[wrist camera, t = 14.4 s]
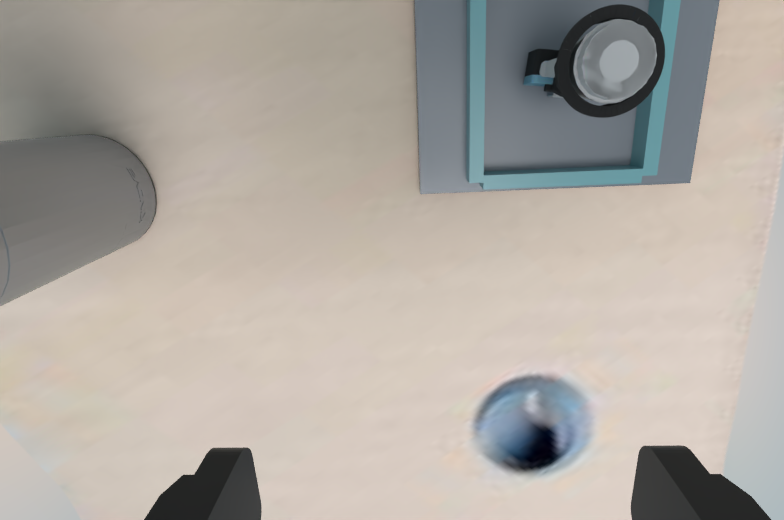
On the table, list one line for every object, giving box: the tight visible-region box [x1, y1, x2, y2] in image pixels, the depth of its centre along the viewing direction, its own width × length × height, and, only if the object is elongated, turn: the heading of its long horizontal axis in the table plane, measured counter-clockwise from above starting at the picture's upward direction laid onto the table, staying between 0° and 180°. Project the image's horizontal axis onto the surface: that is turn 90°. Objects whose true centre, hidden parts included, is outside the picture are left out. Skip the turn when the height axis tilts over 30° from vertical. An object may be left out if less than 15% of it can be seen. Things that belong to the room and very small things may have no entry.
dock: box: [415, 0, 719, 194], centre depth 31 cm, size 20×16×3 cm
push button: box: [523, 4, 665, 118], centre depth 27 cm, size 7×5×10 cm
